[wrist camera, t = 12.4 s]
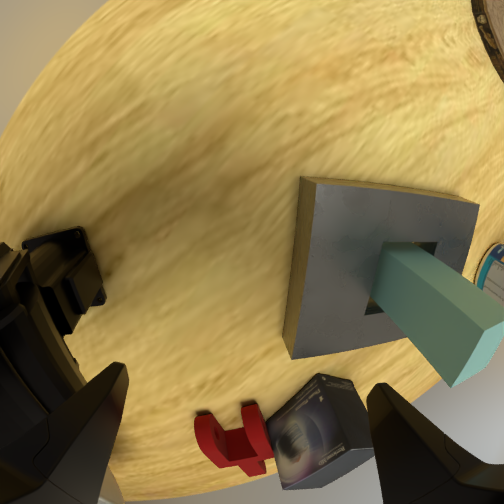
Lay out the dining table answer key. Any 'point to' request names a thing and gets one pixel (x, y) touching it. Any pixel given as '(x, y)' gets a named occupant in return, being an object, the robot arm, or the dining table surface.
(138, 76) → the dining table surface
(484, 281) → the beverage bottle
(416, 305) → the teal peg
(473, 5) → the wood slice
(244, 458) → the mechanical linkage
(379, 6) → the dining table surface
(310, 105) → the dining table surface
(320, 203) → the square-hole plate
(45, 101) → the dining table surface
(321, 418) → the small box
